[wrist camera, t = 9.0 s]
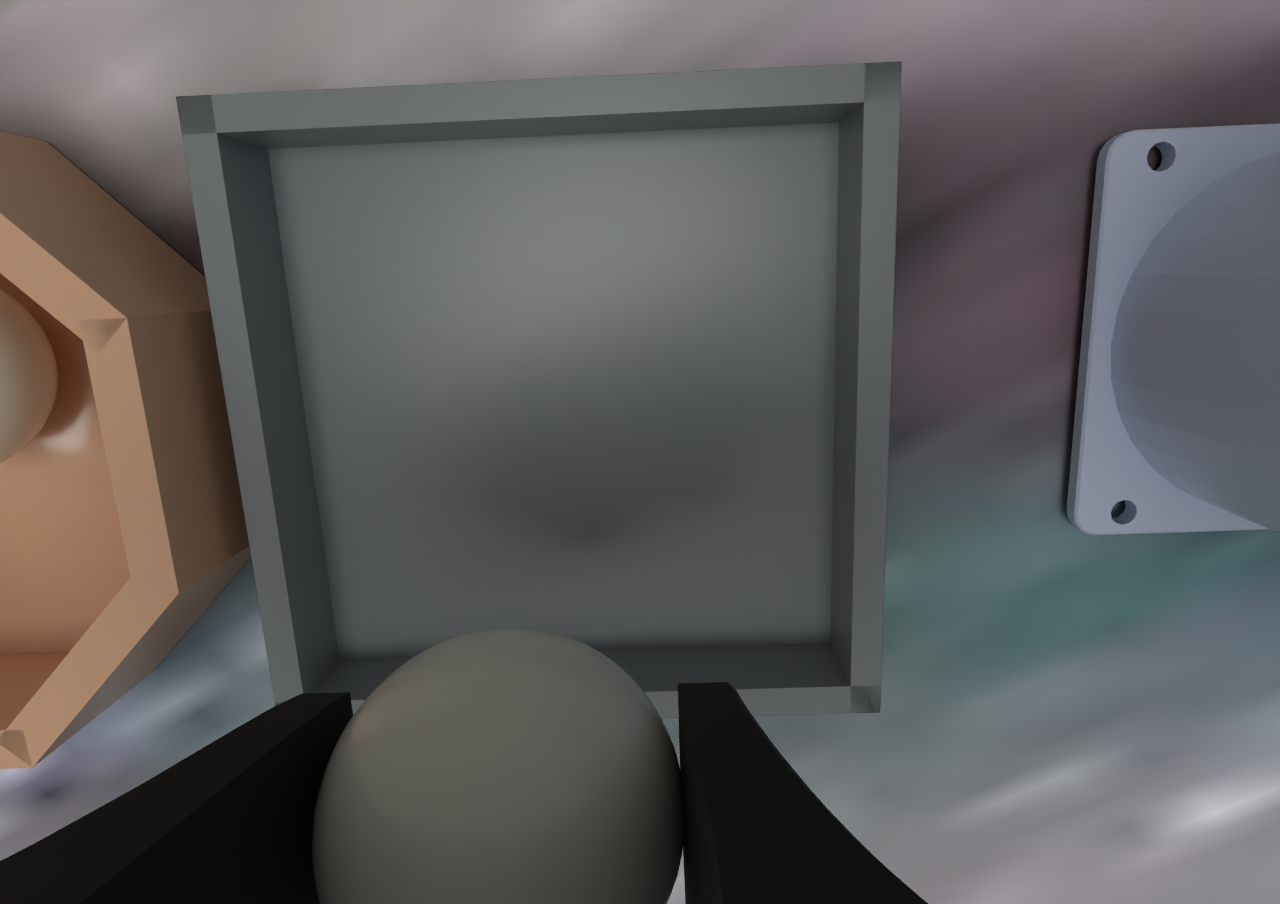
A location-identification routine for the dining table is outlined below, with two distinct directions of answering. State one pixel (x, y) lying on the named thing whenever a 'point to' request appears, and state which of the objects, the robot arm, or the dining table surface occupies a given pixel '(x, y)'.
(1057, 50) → the dining table surface
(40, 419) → the cream pebble
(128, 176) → the dining table surface
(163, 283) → the bowl
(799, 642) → the parts tray
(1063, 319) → the dining table surface
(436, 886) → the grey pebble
